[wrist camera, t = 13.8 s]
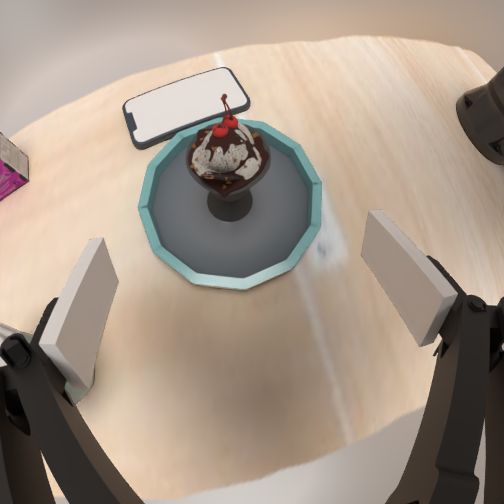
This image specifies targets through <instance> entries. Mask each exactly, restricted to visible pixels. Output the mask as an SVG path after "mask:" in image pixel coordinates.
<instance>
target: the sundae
mask: <svg viewBox="0 0 504 504" xmlns="http://www.w3.org/2000/svg"><path fill="white" fill-rule="evenodd" d="M226 98H227V94H223V95H222V97H221V100H222V102H223V104H224V107H225V114H224V118H223V119H222V122H220V123H215V124H211V125H208V126H206V127H204V128H203V129H200V130H198V132H197V133H196V135H195V136H194V137H193V139H192V140H191V142H190V144H189V146H188V149H187V152H186V166H187V169H188V171H189V174H190V175H191V176H192V177H193V179H194V180H195V181H196V182H197V183H198V184H199V185H200V186H202V187H203V188H205V189H207V190H208V191H210V192H209V194H208V197H207V205H208V208H209V211H210V212H211V213H212V215H213V216H214V217H216V218H217V219H219V220H221V221H225V222H234V221H238V220H240V219H242V218H243V217H245V216H246V215H247V214H248V213H249V211H250V209H251V207H252V203H253V197H252V194H251V192H250V190H249V189H250V188H251V187H252V186H254V185H255V184H256V183H258V182H259V181H260V180H261V179H262V178H263V177H264V176H265V174H266V173H267V171H268V170H269V168H270V164H271V152H270V148H269V145H268V143H267V141H266V139H265V137H264V136H263V135H262V134H261V133H260V132H259V131H258V130H256V129H255V128H254V127H251V126H249V125H246V124H242V123H239V122H238V120H237V119H236V118H235V117H234V116H232V113H231V110H230V108H229V106H228V104H227V103H226ZM225 104H226V105H225ZM226 106H227V108H228V111H229V114H230V115H228V116H226V113H227V110H226Z"/></svg>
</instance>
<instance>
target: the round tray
mask: <svg viewBox="0 0 504 504" xmlns="http://www.w3.org/2000/svg"><path fill="white" fill-rule="evenodd" d="M222 119H223V118H216V119H213V120H210V121H208V122H205V123H202V124H199V125H196V126H194V127H191V128H188V129H186V130H183V131H181V132H178V133H177V134H176V135H175V136H174V137H173V138H172V139H171V140H170V141H169V142H168V143H167V144H166V146H165V147H164V148H163V149H162V150H161V151H160V152H159V153H158V154H157V155H156V156H155V157H154V159H153V160H152V161H151V162H150V163H149V164H148V166H147V170H146V174H145V178H144V182H143V187H142V191H141V195H140V200H139V204H138V211H139V214H140V217H141V220H142V223H143V226H144V228H145V231H146V234H147V237H148V240H149V243H150V245H151V248H152V251H153V253H155V254H156V255H157V256H158V257H160V258H161V259H162V260H163V261H165V262H166V263H167V264H168V265H170V266H171V267H172V268H173V269H175V270H176V271H177V272H179V273H180V274H181V275H182V276H184V277H185V278H186V279H188V280H189V281H190V282H192V283H193V284H194V285H199V286H207V287H214V288H219V289H233V290H243V291H244V290H248V289H250V288H252V287H254V286H257V285H259V284H261V283H264V282H267V281H268V280H270V279H272V278H274V277H277V276H279V275H281V274H283V273H285V272H288V271H290V270H291V269H292V268H294V266H295V265H296V263H297V262H298V260H299V259H300V257H301V256H302V254H303V253H304V252H305V250H306V249H307V247H308V246H309V244H310V243H311V241H312V240H313V238H314V237H315V235H316V234H317V232H318V231H319V229H320V227H321V196H322V182H321V181H320V179H319V177H318V175H317V173H316V171H315V170H314V168H313V166H312V164H311V163H310V161H309V159H308V157H307V156H306V154H305V152H304V150H303V149H302V147H301V145H300V144H298V143H297V142H295V141H293V140H292V139H290V138H289V137H287V136H286V135H284V134H282V133H281V132H279V131H278V130H276V129H274V128H273V127H271V126H269V125H268V124H266V123H264V122H261V121H252V120H243V119H237V120H238V122H239V123H242V124H246V125H249V126H251V127H254V128H255V129H256V130H258V131H259V132H260V133H261V134H262V135H263V136H264V137H265V139H266V141H267V143H268V145H269V148H270V152H271V164H270V168H269V170H268V171H267V173H266V174H265V176H264V177H263V178H262V179H261V180H260V181H259V182H258V183H256V184H255V185H254V186H252V187H251V188H250V189H249V190H250V192H251V194H252V197H253V203H252V207H251V209H250V211H249V213H248V214H247V215H246V216H245V217H243V218H242V219H240V220H238V221H234V222H225V221H221V220H219V219H217V218H216V217H214V216H213V215H212V213H211V212H210V211H209V208H208V205H207V197H208V194H209V192H210V191H208V190H207V189H205V188H203V187H202V186H200V185H199V184H198V183H197V182H196V181H195V180H194V179H193V177H192V176H191V175H190V174H189V171H188V169H187V166H186V152H187V149H188V146H189V144H190V142H191V140H192V139H193V137H194V136H195V135H196V133H197V132H198V130H200V129H203V128H204V127H206V126H208V125H211V124H215V123H220V122H222Z"/></svg>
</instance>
